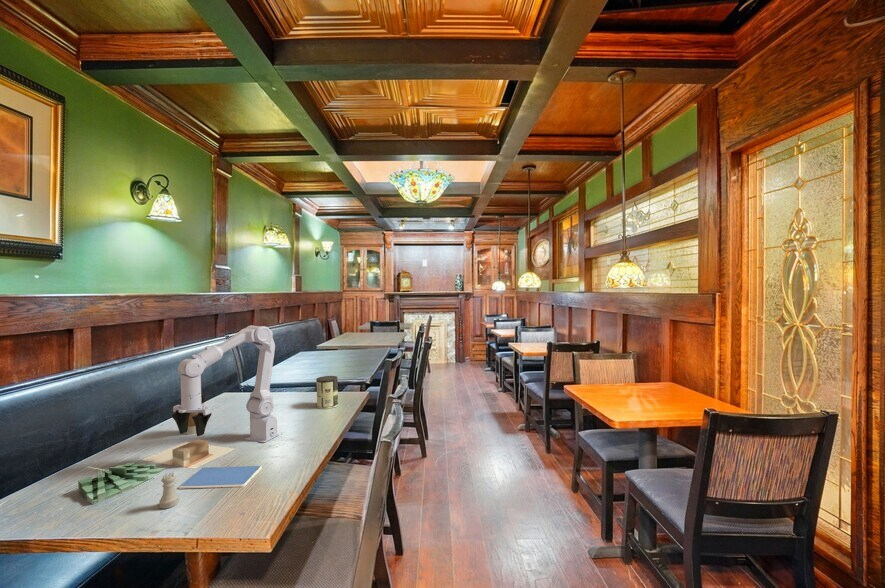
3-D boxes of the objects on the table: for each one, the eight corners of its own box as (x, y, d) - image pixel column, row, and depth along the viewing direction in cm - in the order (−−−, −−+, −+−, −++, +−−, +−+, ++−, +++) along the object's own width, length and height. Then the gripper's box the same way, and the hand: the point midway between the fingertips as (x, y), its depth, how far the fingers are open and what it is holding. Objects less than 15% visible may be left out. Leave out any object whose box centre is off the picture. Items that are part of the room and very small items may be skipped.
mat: (235, 450, 136) (235, 448, 136) (194, 470, 121) (194, 468, 121) (185, 443, 144) (185, 441, 144) (141, 461, 128) (141, 459, 128)
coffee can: (331, 401, 196) (330, 374, 196) (342, 405, 189) (341, 377, 189) (312, 406, 188) (312, 378, 188) (323, 410, 181) (322, 381, 181)
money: (115, 472, 121) (115, 457, 121) (167, 471, 122) (167, 456, 122) (54, 508, 101) (53, 490, 101) (116, 506, 102) (115, 488, 102)
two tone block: (197, 453, 133) (197, 439, 133) (208, 455, 131) (208, 440, 131) (172, 464, 124) (172, 449, 124) (183, 466, 122) (183, 451, 122)
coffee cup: (176, 435, 152) (176, 398, 152) (197, 428, 160) (196, 392, 160) (190, 438, 149) (190, 400, 149) (210, 430, 157) (210, 394, 157)
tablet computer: (263, 468, 123) (263, 464, 123) (244, 489, 110) (244, 484, 110) (202, 470, 122) (202, 466, 122) (176, 491, 109) (176, 487, 109)
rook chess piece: (165, 500, 103) (165, 471, 103) (182, 499, 104) (182, 470, 104) (154, 510, 99) (154, 479, 99) (172, 509, 99) (172, 478, 99)
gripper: (163, 396, 126) (164, 436, 126) (196, 399, 122) (197, 440, 122) (183, 390, 133) (184, 428, 133) (215, 393, 129) (216, 432, 129)
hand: (192, 434), depth 128 cm, fingers open, 7 cm apart
